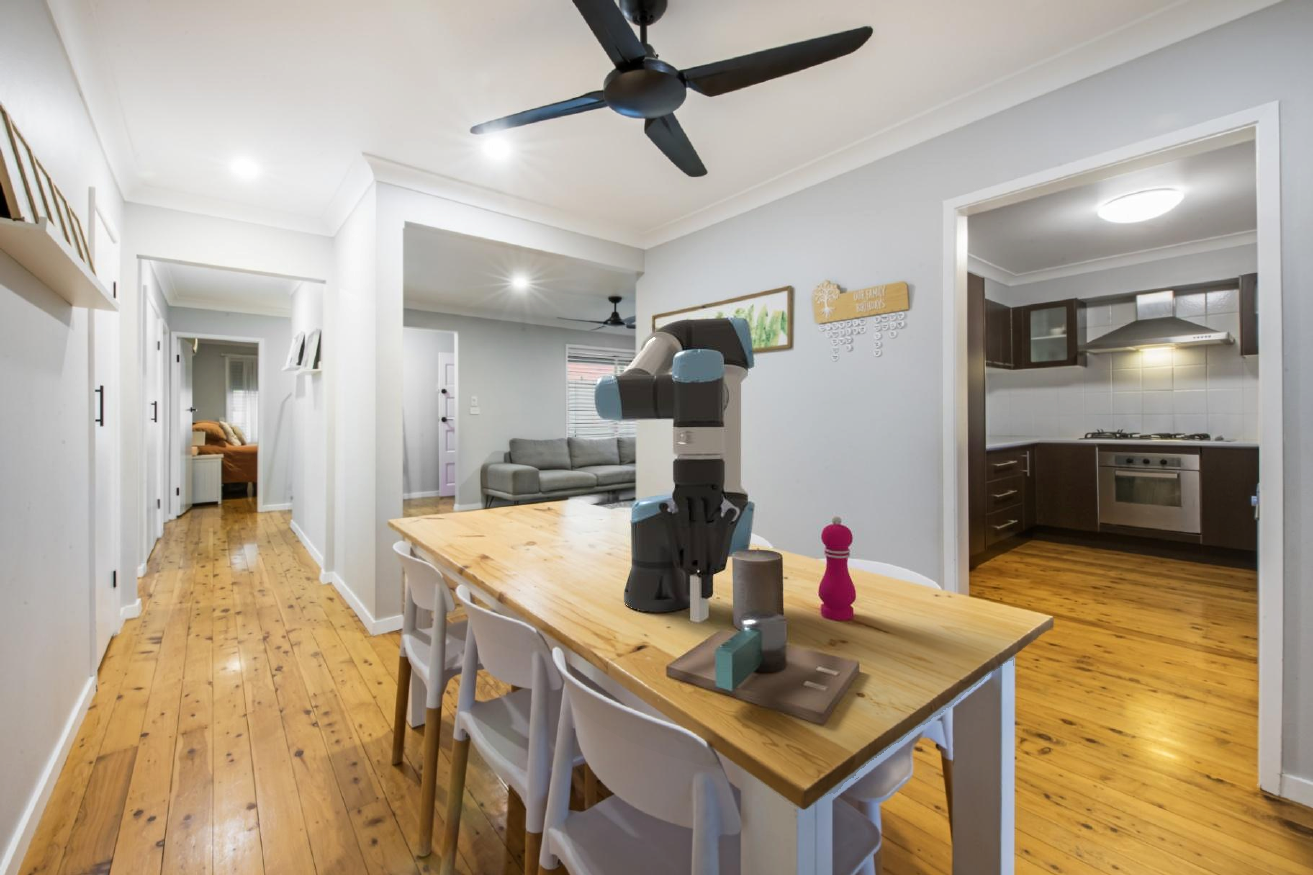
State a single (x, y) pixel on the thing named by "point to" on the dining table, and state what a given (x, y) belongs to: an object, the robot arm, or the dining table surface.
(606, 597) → the dining table surface
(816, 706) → the base
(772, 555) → the pillar candle
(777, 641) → the cylinder with teal slab
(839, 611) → the pepper mill
